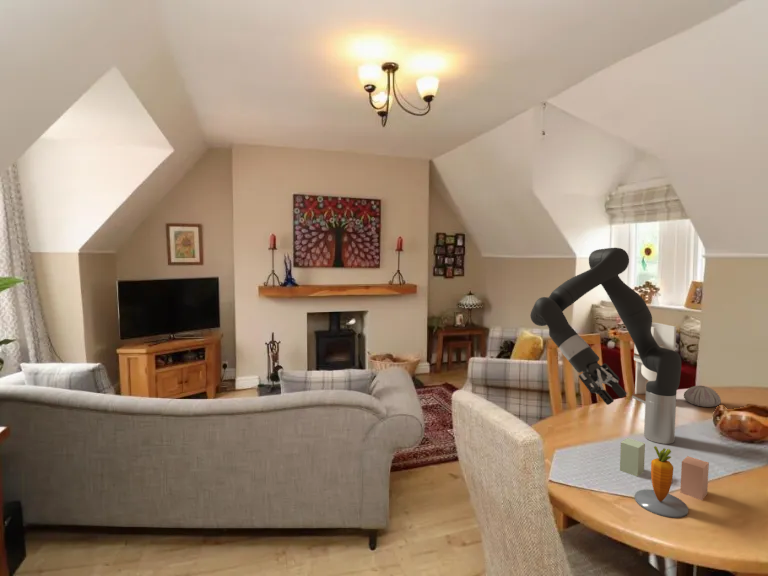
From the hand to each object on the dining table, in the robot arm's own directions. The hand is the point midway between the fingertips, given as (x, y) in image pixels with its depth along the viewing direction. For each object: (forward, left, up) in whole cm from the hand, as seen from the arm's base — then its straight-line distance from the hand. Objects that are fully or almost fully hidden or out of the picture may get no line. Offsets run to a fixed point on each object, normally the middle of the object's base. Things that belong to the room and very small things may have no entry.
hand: (617, 399), depth 121 cm
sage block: (-13, 0, -26) cm, 29 cm away
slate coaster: (0, +12, -26) cm, 28 cm away
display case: (-86, -19, -26) cm, 92 cm away
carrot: (0, +12, -25) cm, 28 cm away
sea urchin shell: (-100, -4, -26) cm, 103 cm away
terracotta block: (-13, +16, -26) cm, 33 cm away
